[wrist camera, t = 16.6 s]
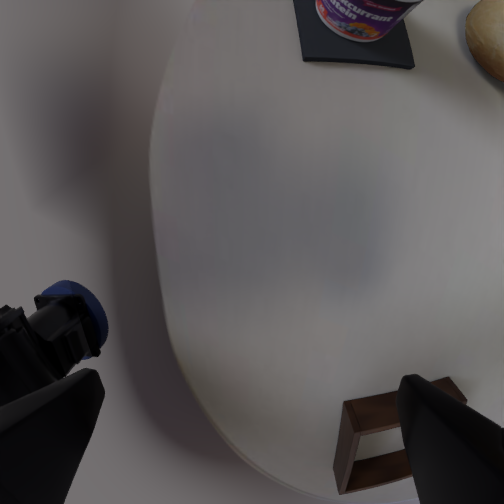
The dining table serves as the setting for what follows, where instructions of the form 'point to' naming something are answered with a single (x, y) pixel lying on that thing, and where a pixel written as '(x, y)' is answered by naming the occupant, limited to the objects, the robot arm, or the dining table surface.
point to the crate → (367, 422)
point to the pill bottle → (363, 16)
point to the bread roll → (487, 36)
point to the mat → (349, 42)
